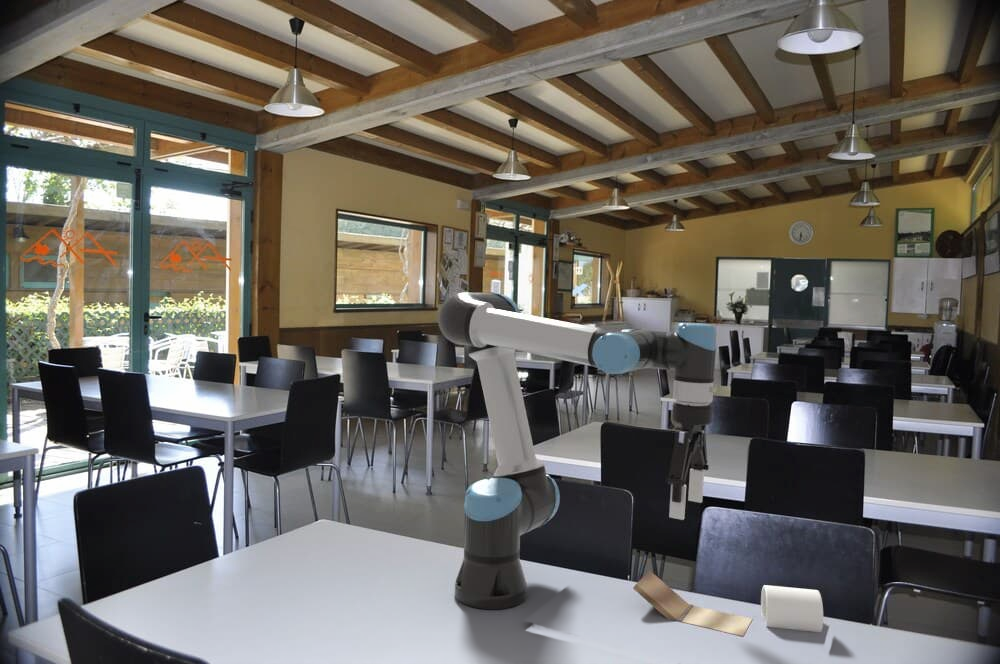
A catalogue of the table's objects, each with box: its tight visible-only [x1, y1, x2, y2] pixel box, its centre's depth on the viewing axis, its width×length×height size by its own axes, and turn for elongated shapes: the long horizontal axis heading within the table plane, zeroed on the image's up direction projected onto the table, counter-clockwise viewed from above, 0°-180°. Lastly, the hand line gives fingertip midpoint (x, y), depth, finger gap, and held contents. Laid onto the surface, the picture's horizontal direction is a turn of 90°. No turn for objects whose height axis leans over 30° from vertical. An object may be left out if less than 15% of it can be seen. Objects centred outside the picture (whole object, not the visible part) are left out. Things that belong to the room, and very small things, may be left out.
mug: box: [760, 584, 824, 633], centre depth 146 cm, size 12×10×8 cm
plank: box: [632, 570, 690, 622], centre depth 149 cm, size 10×8×1 cm
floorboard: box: [678, 604, 753, 638], centre depth 144 cm, size 12×8×2 cm
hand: (686, 509), depth 147 cm, fingers open, 13 cm apart
